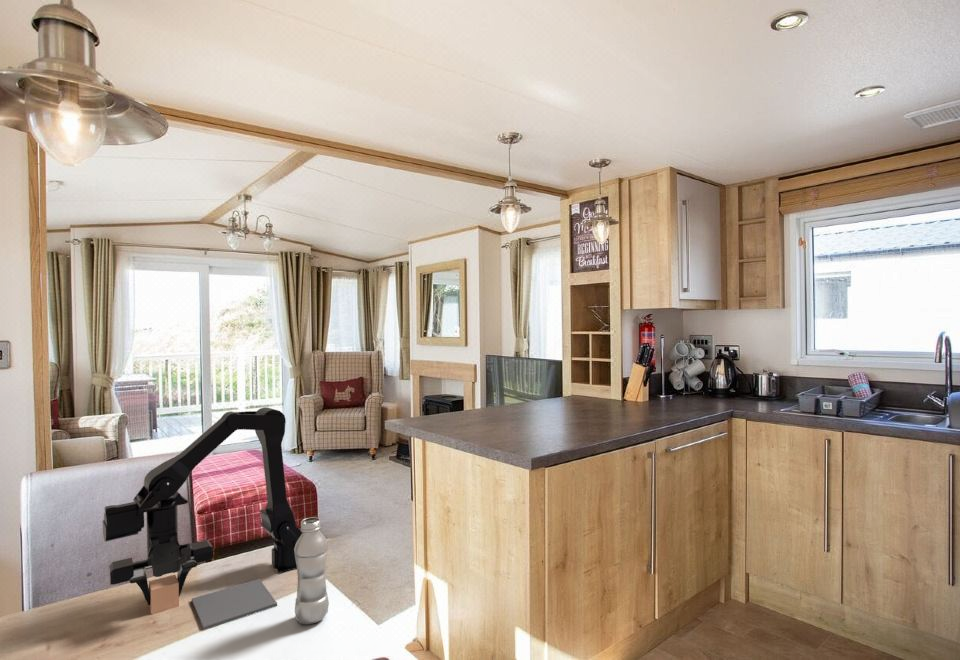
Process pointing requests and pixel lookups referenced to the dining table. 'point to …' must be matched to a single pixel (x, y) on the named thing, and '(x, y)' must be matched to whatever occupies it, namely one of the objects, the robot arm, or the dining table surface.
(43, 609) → the dining table surface
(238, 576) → the dining table surface
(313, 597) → the plastic bottle
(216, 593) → the charcoal mat
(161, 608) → the peach block
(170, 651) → the dining table surface
